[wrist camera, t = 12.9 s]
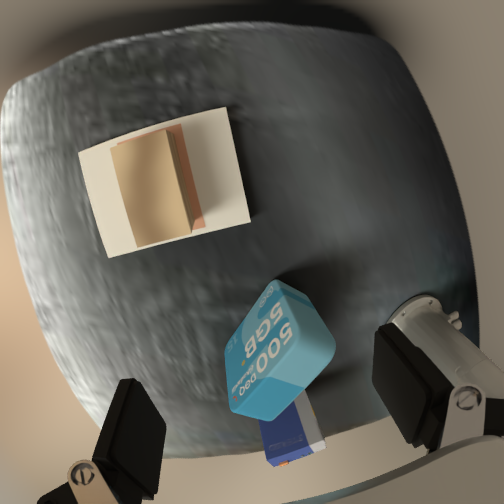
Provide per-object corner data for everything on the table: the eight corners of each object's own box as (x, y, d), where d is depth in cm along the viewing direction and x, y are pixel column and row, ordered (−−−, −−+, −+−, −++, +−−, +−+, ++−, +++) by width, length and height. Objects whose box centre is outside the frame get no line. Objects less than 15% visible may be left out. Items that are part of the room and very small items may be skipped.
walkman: (261, 408, 41) (274, 469, 30) (254, 399, 40) (267, 462, 29) (306, 390, 41) (329, 449, 30) (301, 380, 40) (325, 441, 29)
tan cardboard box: (173, 134, 25) (165, 129, 21) (194, 220, 28) (191, 233, 24) (126, 148, 25) (109, 147, 20) (149, 232, 28) (137, 247, 24)
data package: (274, 274, 33) (303, 333, 22) (304, 290, 35) (342, 349, 23) (223, 347, 36) (229, 417, 25) (252, 358, 37) (266, 427, 26)
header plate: (225, 109, 27) (225, 106, 25) (249, 218, 31) (250, 222, 29) (84, 152, 26) (77, 152, 24) (112, 253, 30) (108, 258, 28)
